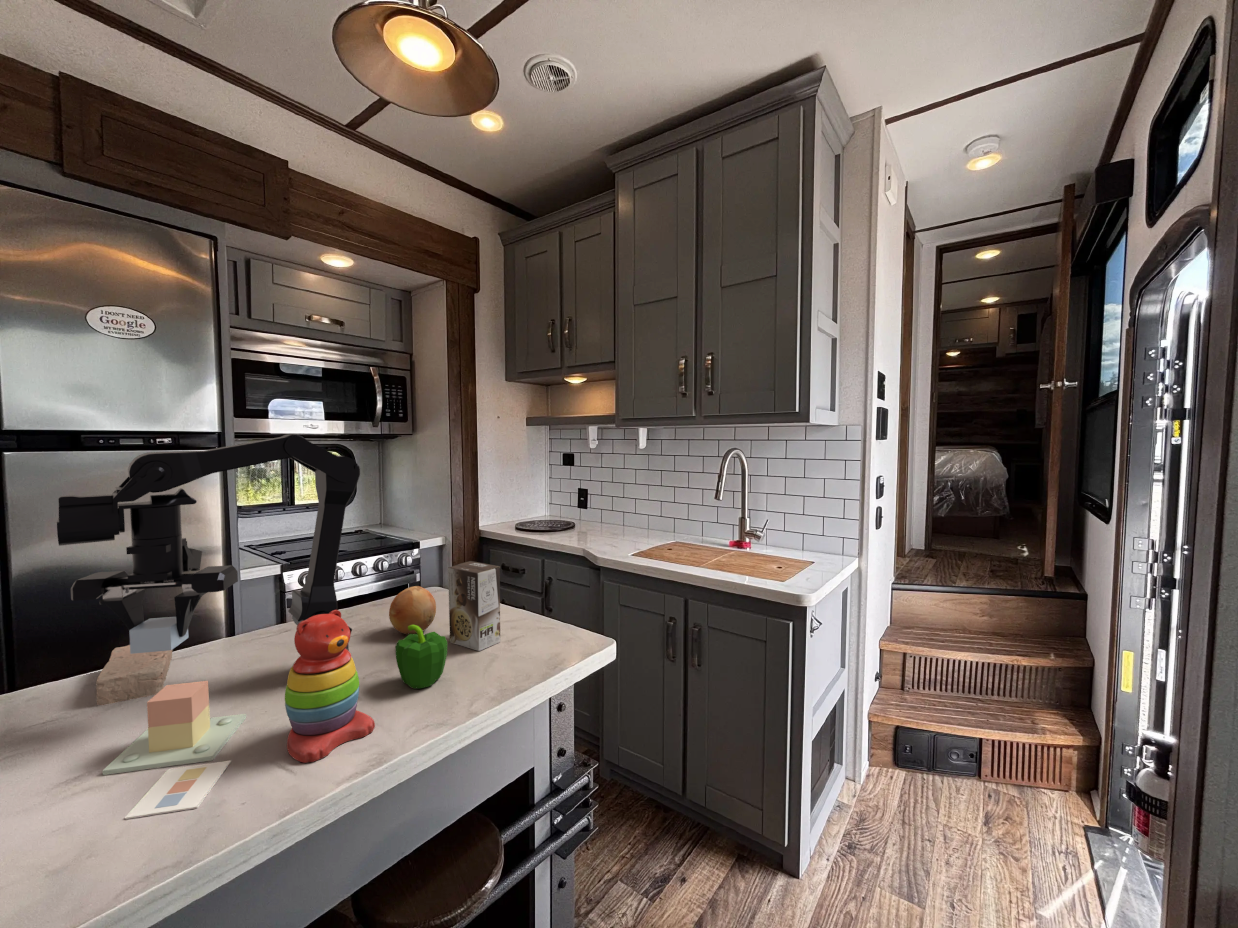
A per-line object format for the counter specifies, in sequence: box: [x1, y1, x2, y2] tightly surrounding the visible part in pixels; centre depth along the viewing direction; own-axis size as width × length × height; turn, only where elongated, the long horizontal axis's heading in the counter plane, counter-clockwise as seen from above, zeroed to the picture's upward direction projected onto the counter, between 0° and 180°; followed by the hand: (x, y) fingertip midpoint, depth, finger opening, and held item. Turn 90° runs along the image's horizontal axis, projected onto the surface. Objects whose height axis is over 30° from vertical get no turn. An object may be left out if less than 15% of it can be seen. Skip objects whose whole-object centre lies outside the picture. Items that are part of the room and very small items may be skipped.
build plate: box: [102, 704, 247, 776], centre depth 75 cm, size 12×11×4 cm
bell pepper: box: [394, 625, 448, 689], centre depth 93 cm, size 8×8×10 cm
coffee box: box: [447, 560, 501, 652], centre depth 111 cm, size 9×6×16 cm
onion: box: [388, 585, 437, 635], centre depth 116 cm, size 10×10×10 cm
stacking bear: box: [284, 609, 376, 764], centre depth 76 cm, size 11×10×18 cm
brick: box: [95, 644, 173, 706], centre depth 93 cm, size 17×8×5 cm, turn 35°
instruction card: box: [124, 760, 232, 820], centre depth 65 cm, size 7×9×1 cm
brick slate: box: [128, 616, 190, 654], centre depth 80 cm, size 5×5×4 cm
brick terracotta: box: [146, 680, 210, 729], centre depth 74 cm, size 5×5×4 cm
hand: (161, 637), depth 81 cm, fingers closed on brick slate, 5 cm apart
